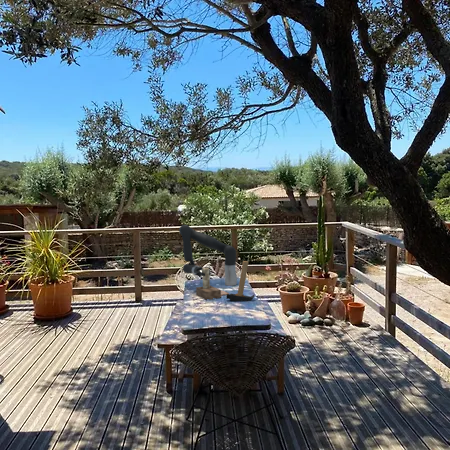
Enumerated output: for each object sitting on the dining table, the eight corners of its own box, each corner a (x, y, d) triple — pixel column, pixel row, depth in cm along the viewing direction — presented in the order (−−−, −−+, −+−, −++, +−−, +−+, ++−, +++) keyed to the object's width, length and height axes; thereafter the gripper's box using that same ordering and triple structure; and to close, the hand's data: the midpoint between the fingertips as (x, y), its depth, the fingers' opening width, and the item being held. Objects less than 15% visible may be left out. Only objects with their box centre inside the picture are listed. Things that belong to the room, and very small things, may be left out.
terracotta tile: (221, 291, 342) (221, 290, 342) (229, 294, 332) (229, 293, 331) (213, 292, 338) (213, 291, 338) (220, 296, 328) (220, 294, 328)
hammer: (252, 302, 316) (259, 263, 314) (253, 304, 311) (260, 264, 309) (226, 298, 315) (232, 258, 313) (226, 299, 310) (233, 259, 308)
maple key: (207, 288, 333) (206, 268, 332) (209, 289, 330) (209, 268, 328) (203, 289, 331) (202, 268, 330) (205, 290, 328) (204, 269, 326)
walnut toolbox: (210, 293, 338) (210, 285, 338) (220, 297, 322) (220, 289, 322) (196, 295, 332) (196, 287, 332) (206, 300, 317) (206, 292, 316)
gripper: (189, 267, 338) (198, 270, 323) (205, 265, 345) (215, 268, 330) (190, 276, 339) (199, 280, 324) (206, 274, 346) (216, 277, 331)
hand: (207, 274), depth 327 cm, fingers closed on maple key, 4 cm apart
